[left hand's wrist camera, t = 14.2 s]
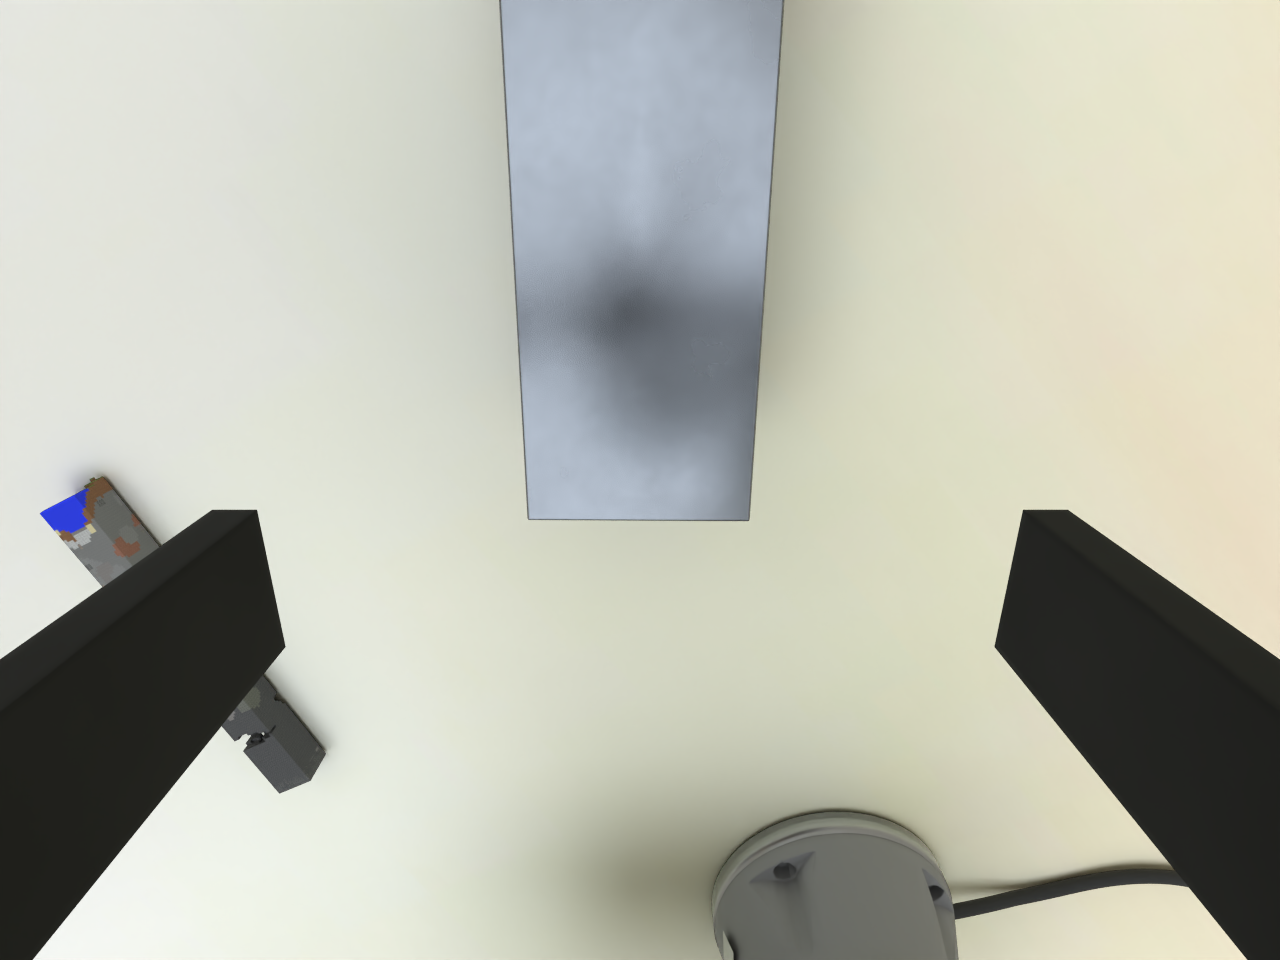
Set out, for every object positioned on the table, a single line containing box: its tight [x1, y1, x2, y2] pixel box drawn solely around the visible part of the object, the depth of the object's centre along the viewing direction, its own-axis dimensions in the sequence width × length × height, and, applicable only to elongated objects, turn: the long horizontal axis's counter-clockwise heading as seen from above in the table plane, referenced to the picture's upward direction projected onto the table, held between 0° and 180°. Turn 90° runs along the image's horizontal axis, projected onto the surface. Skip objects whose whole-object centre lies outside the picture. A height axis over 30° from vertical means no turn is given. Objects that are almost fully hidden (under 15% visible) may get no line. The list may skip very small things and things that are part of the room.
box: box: [499, 0, 784, 521], centre depth 26 cm, size 25×8×12 cm, turn 0°
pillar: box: [40, 477, 326, 794], centre depth 39 cm, size 2×2×20 cm
